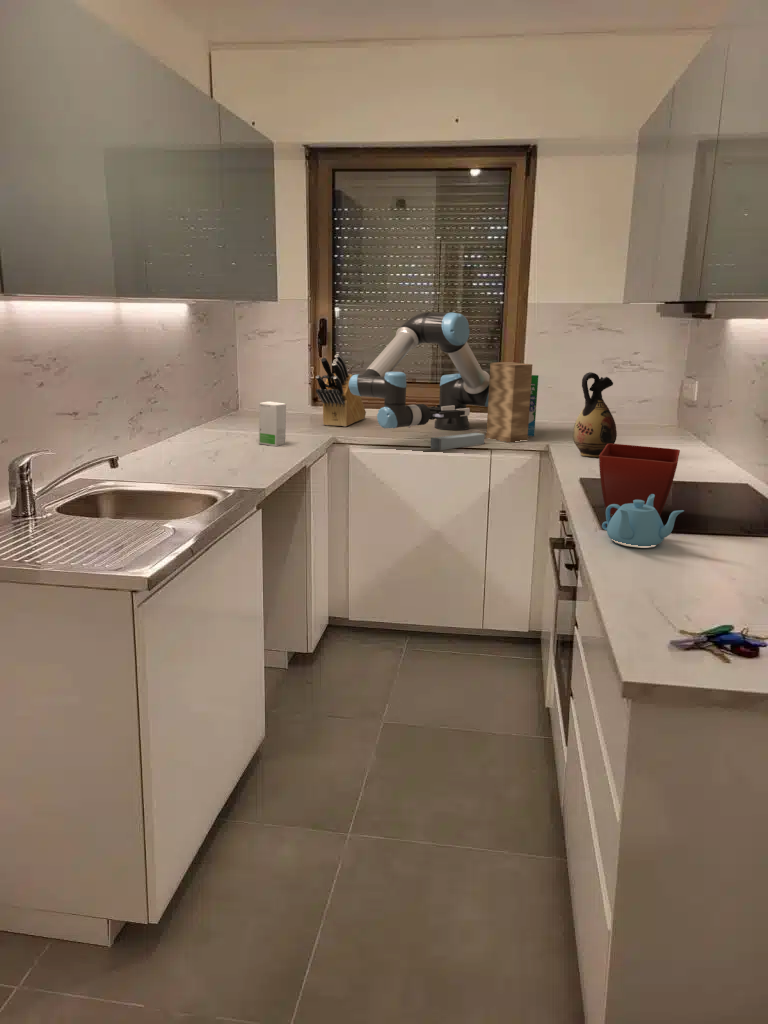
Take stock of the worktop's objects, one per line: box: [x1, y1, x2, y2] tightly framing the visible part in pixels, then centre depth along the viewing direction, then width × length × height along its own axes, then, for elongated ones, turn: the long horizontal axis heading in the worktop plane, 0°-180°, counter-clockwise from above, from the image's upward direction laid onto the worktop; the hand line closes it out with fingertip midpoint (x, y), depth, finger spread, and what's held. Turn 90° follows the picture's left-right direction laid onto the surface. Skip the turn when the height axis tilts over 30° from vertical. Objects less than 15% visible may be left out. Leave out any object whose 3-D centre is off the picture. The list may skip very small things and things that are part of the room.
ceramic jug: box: [572, 371, 618, 458], centre depth 289 cm, size 17×15×30 cm
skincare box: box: [258, 400, 287, 447], centre depth 300 cm, size 8×7×16 cm
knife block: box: [315, 353, 367, 428], centre depth 347 cm, size 11×35×31 cm, turn 162°
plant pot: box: [598, 443, 681, 517], centre depth 212 cm, size 19×19×17 cm
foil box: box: [430, 432, 486, 451], centre depth 305 cm, size 5×24×5 cm, turn 129°
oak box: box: [485, 361, 533, 443], centre depth 318 cm, size 13×10×30 cm
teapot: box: [601, 494, 685, 546], centre depth 188 cm, size 15×15×10 cm
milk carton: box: [528, 374, 539, 437], centre depth 332 cm, size 9×9×25 cm
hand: (461, 410), depth 303 cm, fingers open, 7 cm apart
